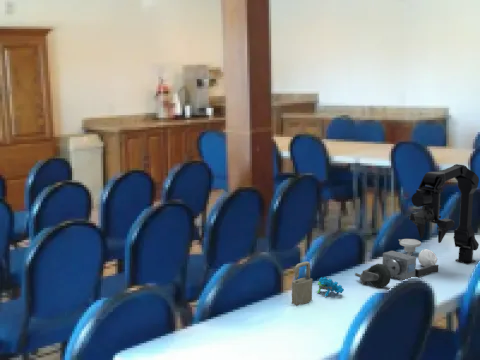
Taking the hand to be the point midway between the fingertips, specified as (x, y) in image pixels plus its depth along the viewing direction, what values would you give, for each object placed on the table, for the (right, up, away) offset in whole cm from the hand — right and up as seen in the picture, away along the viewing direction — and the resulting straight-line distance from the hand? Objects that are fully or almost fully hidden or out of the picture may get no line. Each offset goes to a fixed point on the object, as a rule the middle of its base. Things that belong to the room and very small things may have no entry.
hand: (430, 240), depth 283 cm
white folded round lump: (+2, -13, +11) cm, 17 cm away
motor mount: (-9, -14, +3) cm, 17 cm away
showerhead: (-2, -9, +29) cm, 31 cm away
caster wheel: (-27, -17, -12) cm, 34 cm away
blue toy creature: (-45, -19, -23) cm, 54 cm away
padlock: (-56, -20, -31) cm, 67 cm away
